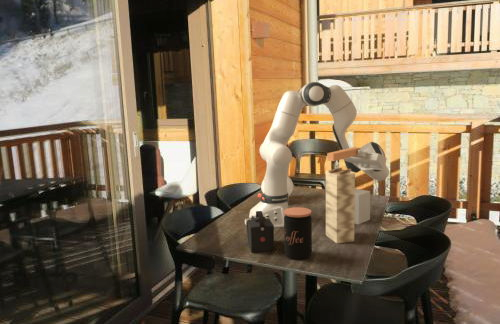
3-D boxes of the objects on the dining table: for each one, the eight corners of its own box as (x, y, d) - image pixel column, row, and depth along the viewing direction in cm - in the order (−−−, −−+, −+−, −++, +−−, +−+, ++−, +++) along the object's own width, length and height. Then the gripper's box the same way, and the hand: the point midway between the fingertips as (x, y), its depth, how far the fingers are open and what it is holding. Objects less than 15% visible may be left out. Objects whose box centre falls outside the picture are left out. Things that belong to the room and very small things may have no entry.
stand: (334, 243, 190) (334, 173, 184) (323, 235, 200) (323, 168, 195) (356, 240, 192) (357, 171, 187) (344, 232, 203) (345, 166, 197)
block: (333, 161, 184) (333, 153, 183) (327, 160, 186) (327, 153, 185) (360, 154, 198) (360, 147, 197) (354, 153, 200) (354, 147, 199)
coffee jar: (278, 255, 179) (278, 211, 176) (296, 248, 186) (295, 205, 183) (300, 262, 171) (299, 216, 168) (317, 254, 179) (317, 210, 176)
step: (358, 224, 213) (358, 195, 210) (340, 220, 220) (340, 192, 217) (369, 219, 220) (370, 191, 217) (351, 215, 227) (352, 188, 224)
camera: (271, 239, 197) (270, 206, 194) (277, 251, 184) (276, 215, 181) (246, 241, 196) (245, 207, 193) (250, 253, 182) (249, 217, 179)
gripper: (350, 153, 213) (335, 142, 204) (390, 158, 199) (376, 146, 190) (346, 166, 212) (331, 155, 203) (386, 171, 198) (371, 160, 188)
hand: (353, 150), depth 196 cm, fingers closed on block, 3 cm apart
